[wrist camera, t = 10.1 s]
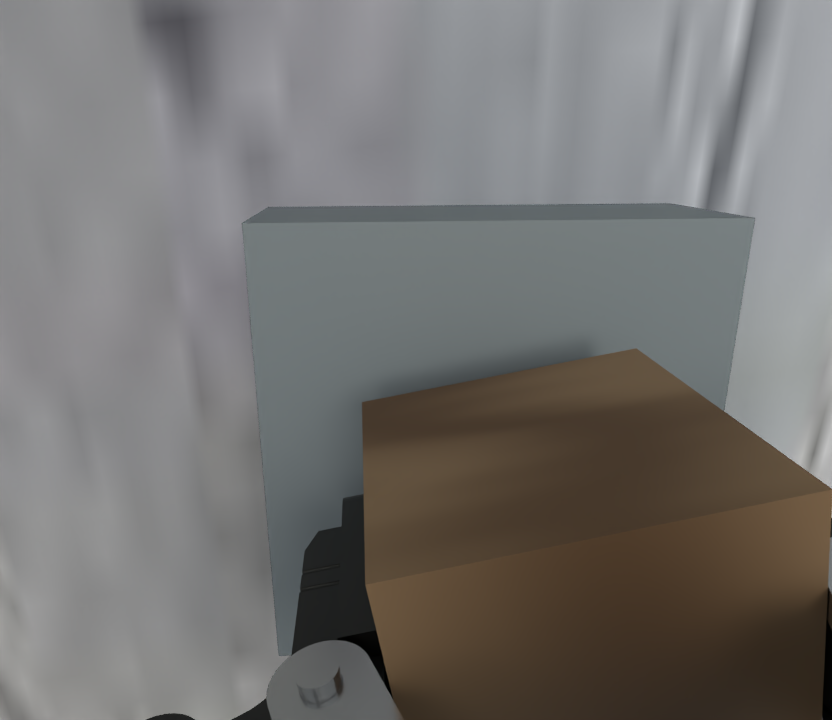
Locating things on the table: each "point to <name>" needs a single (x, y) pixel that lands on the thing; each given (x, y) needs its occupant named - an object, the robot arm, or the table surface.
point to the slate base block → (459, 323)
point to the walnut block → (591, 551)
